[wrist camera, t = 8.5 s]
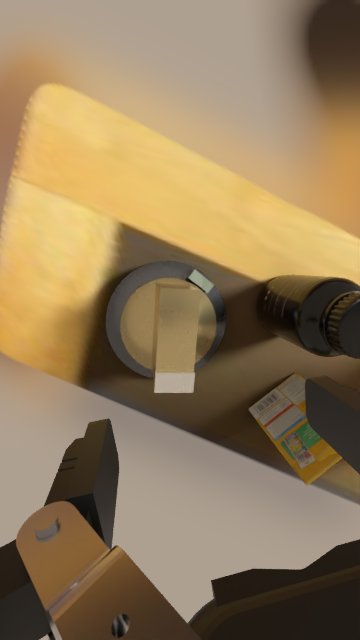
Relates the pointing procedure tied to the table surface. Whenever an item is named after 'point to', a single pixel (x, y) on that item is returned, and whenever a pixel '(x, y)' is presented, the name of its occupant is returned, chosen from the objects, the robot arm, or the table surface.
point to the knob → (168, 331)
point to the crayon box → (294, 429)
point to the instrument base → (146, 275)
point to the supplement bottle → (313, 313)
